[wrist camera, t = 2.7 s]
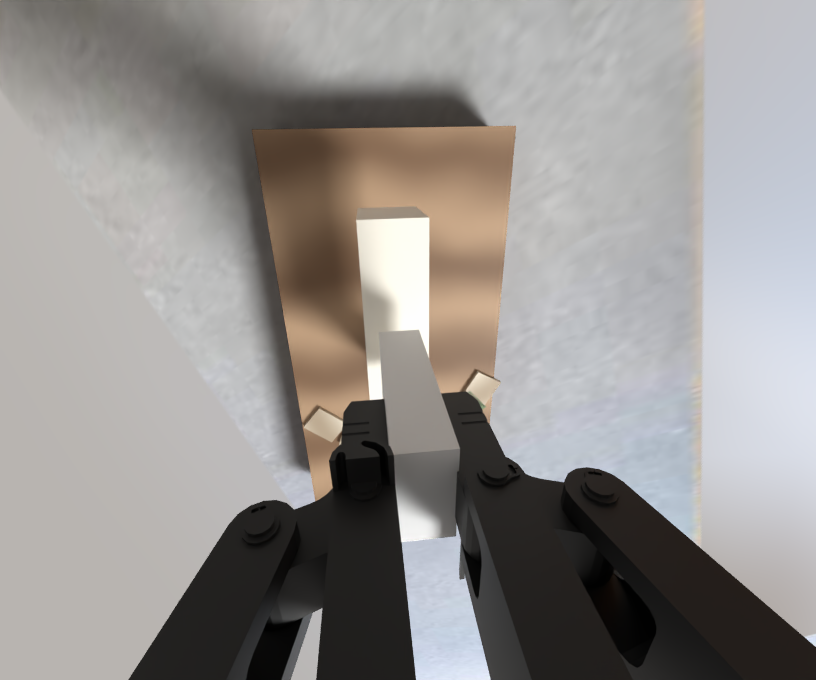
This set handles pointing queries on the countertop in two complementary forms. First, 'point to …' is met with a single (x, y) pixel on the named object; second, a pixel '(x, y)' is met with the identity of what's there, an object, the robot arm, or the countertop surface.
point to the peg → (392, 278)
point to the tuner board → (339, 256)
